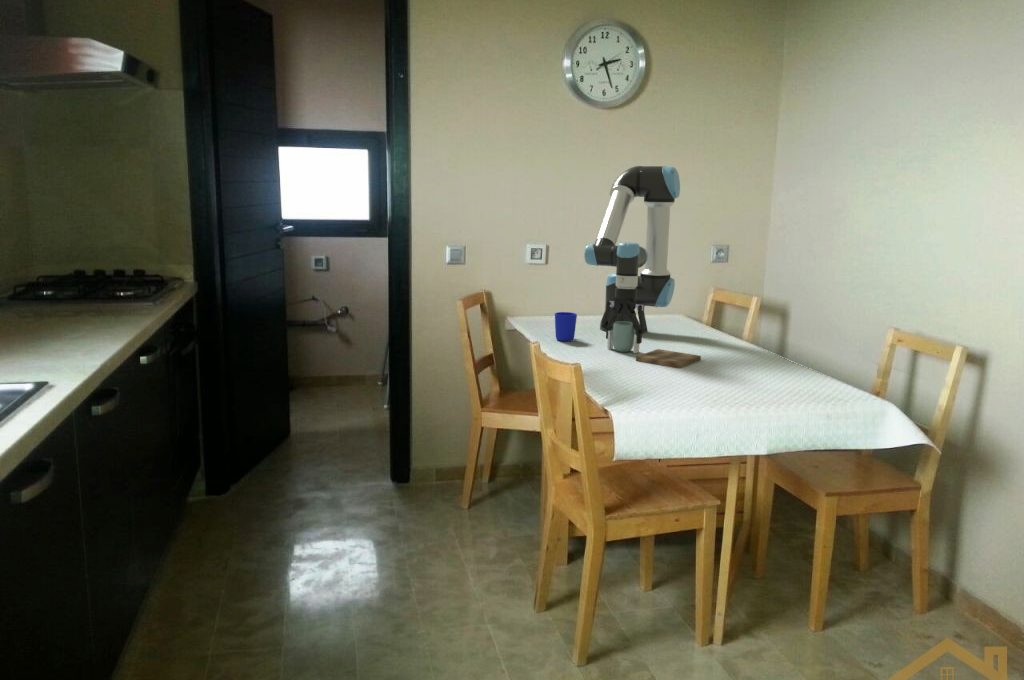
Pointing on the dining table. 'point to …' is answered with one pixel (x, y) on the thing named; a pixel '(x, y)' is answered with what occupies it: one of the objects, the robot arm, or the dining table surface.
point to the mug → (565, 325)
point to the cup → (623, 336)
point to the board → (668, 358)
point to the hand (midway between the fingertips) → (623, 350)
